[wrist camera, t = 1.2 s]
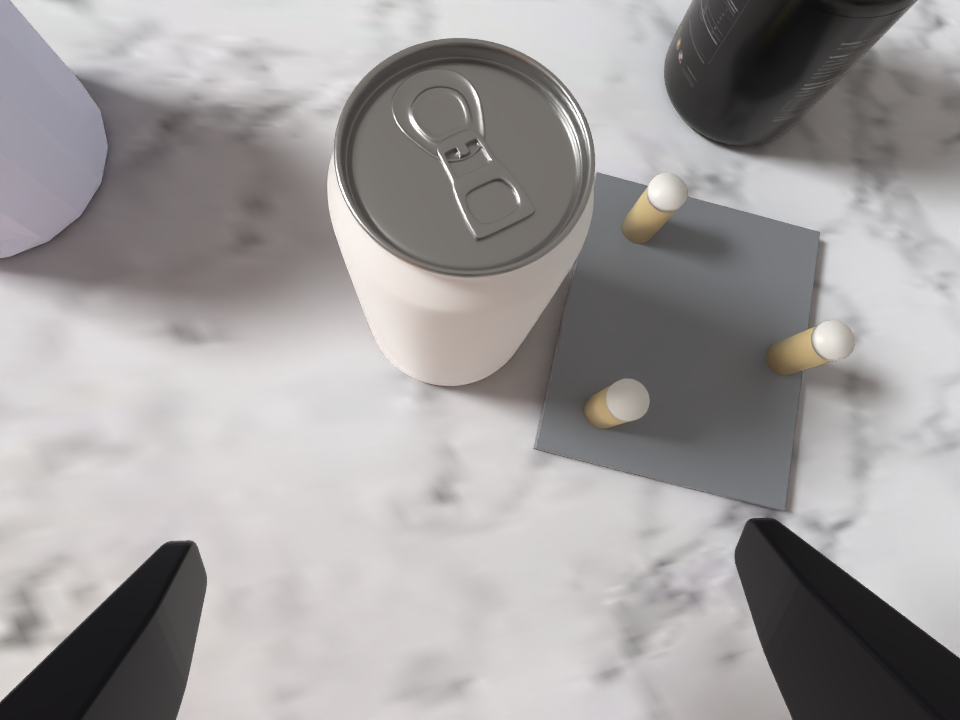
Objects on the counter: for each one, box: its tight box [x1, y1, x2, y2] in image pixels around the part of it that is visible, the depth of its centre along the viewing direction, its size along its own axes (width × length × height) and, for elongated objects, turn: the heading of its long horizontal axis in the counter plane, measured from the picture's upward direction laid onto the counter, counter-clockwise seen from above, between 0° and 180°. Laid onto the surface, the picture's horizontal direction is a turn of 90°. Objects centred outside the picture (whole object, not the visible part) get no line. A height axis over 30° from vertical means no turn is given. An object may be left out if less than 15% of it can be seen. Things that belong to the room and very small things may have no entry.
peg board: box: [534, 172, 855, 511], centre depth 23 cm, size 12×10×4 cm
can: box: [327, 38, 595, 386], centre depth 19 cm, size 6×6×12 cm
